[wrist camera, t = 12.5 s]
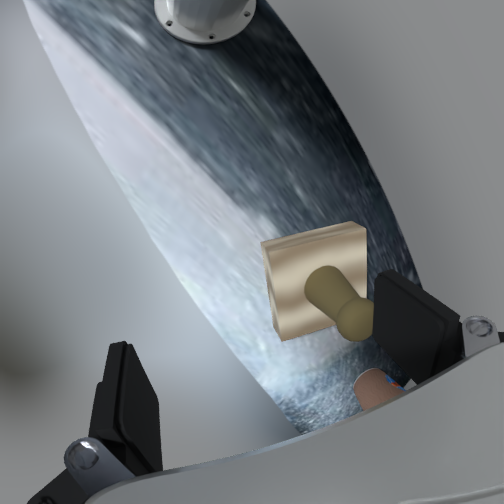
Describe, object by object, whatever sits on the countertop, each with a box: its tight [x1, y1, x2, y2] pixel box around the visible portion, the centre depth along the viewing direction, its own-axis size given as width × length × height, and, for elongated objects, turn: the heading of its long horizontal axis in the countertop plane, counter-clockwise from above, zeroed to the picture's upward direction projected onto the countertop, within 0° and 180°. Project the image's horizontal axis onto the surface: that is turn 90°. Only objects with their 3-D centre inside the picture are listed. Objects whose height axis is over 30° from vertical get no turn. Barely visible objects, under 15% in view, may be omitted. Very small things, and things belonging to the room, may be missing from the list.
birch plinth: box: [261, 221, 367, 342], centre depth 45 cm, size 14×14×4 cm
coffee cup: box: [353, 368, 406, 411], centre depth 54 cm, size 10×10×12 cm
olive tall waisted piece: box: [304, 265, 374, 342], centre depth 38 cm, size 6×6×11 cm
